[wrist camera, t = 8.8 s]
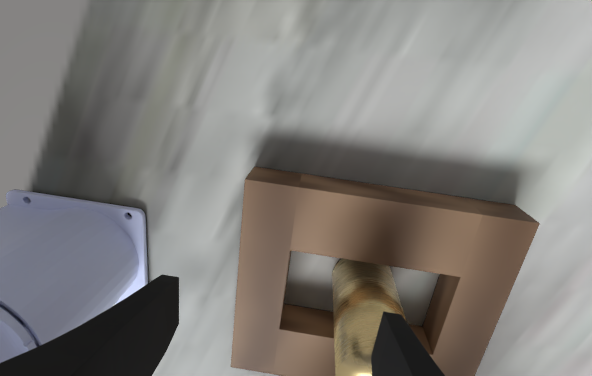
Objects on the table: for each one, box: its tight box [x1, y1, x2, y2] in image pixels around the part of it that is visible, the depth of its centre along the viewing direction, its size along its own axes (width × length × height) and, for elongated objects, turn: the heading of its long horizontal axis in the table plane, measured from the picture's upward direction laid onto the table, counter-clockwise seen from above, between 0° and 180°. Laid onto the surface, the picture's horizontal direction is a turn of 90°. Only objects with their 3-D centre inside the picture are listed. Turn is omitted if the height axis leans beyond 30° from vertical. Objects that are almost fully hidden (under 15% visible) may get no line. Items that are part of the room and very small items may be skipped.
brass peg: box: [332, 258, 407, 376], centre depth 19 cm, size 4×4×8 cm
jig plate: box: [231, 167, 540, 376], centre depth 22 cm, size 16×14×2 cm
